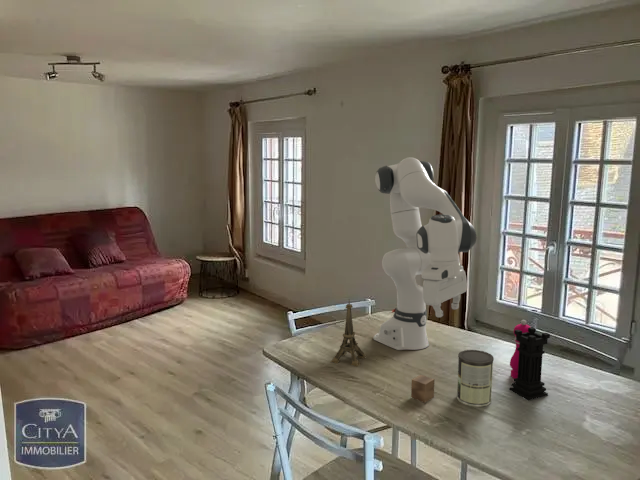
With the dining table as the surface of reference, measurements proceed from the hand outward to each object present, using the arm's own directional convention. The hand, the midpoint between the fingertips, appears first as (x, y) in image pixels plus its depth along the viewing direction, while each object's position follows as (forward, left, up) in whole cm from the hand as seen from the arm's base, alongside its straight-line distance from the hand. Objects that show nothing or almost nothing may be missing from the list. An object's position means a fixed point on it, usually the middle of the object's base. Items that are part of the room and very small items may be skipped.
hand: (447, 312), depth 160 cm
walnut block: (-4, -7, -27) cm, 28 cm away
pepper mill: (+11, +29, -27) cm, 41 cm away
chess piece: (+18, +19, -27) cm, 38 cm away
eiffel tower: (-41, 0, -27) cm, 49 cm away
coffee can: (+8, +3, -27) cm, 28 cm away
